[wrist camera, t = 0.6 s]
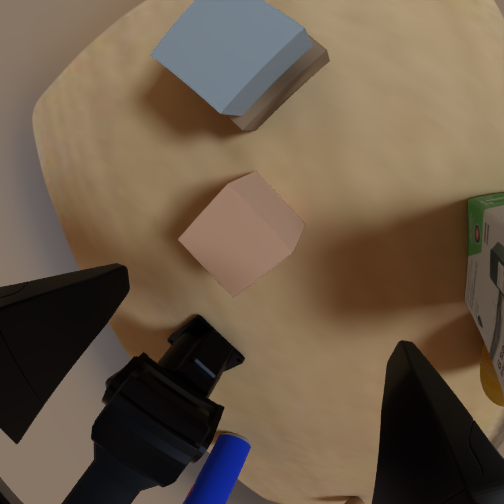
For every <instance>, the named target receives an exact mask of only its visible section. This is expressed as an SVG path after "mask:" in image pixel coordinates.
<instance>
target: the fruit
mask: <svg viewBox="0 0 504 504" xmlns="http://www.w3.org/2000/svg"><path fill="white" fill-rule="evenodd" d="M480 379H481V384H482V387H483V390H484V392H485V394H486V395H487V397H488V398H489V399H490V400H491V401H492V402H494V403H495V404H497V405H499V406H503V407H504V395H503V392H502V388H501V385H500V382H499V379H498V376H497V373H496V371H495V368H494V365H493V363H492V360H491V358H490V355H489V352H488V350H487V347H486V345H485V343H484V344H483V347H482V351H481V363H480Z"/></svg>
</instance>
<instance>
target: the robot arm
mask: <svg viewBox="0 0 504 504" xmlns="http://www.w3.org/2000/svg"><path fill="white" fill-rule="evenodd" d="M129 289H130V284H129V276H128V269H127V267H126V266H124V265H121V264H118V263H115V264H110V265H105V266H100V267H95V268H90V269H85V270H80V271H75V272H71V273H66V274H61V275H57V276H52V277H47V278H42V279H38V280H34V281H30V282H23V283H19V284H14V285H9V286H3V287H0V428H1V429H2V430H3V431H4V432H5V433H6V434H7V435H8V436H9V437H10V438H11V439H12V440H13V441H14V442H15V443H16V444H18V443H19V442H20V440H21V439H22V437H23V436H24V434H25V433H26V431H27V430H28V428H29V426H30V425H31V424H32V422H33V421H34V419H35V418H36V416H37V415H38V413H39V412H40V410H41V409H42V408H43V406H44V404H45V403H46V401H47V400H48V399H49V397H50V396H51V395H52V393H53V392H54V391H55V389H56V388H57V386H58V385H59V384H60V382H61V381H62V380H63V378H64V377H65V376H66V374H67V373H68V372H69V371H70V369H71V368H72V366H73V365H74V364H75V363H76V361H77V360H78V359H79V358H80V356H81V355H82V354H83V352H84V351H85V350H86V349H87V348H88V346H89V345H90V343H91V342H92V341H93V340H94V339H95V338H96V336H97V335H98V334H99V333H100V331H101V330H102V329H103V328H104V327H105V325H106V324H107V323H108V321H109V320H110V319H111V317H112V316H113V314H114V313H115V311H116V310H117V308H118V307H119V305H120V304H121V302H122V301H123V300H124V298H125V297H126V295H127V294H128V292H129ZM198 320H199V321H198ZM168 342H169V343H170V344H171V345H172V346H171V347H170V348H169V349H168V350H167V352H166V353H165V354H164V355H163V357H162V358H161V359H160V360H159V362H158V363H156V362H155V361H153V360H152V359H151V358H149V357H148V355H147V354H146V353H144V352H143V353H142V354H141V355H140V356H139V357H138V356H137V357H135V356H134V357H133V358H132V359H131V361H130V362H129V363H128V364H127V365H126V366H125V367H124V368H123V369H121V370H120V371H118V372H117V373H115V374H114V375H113V376H111V377H110V378H108V379H107V381H106V383H105V384H106V391H105V394H104V396H103V398H102V402H103V403H104V404H105V405H106V406H105V407H104V409H103V410H102V412H101V413H100V414H99V416H98V417H97V419H96V420H95V422H94V425H93V426H92V434H91V439H92V440H93V441H94V460H93V462H92V463H91V465H90V466H89V467H88V469H87V470H86V471H85V473H84V474H83V476H82V477H81V478H80V479H79V481H78V482H77V484H76V485H75V486H74V488H73V489H72V491H71V492H70V493H69V495H68V496H67V497H66V498H65V500H64V501H63V503H62V504H131V503H132V501H133V500H134V499H135V497H136V496H137V495H138V494H139V492H140V491H142V490H145V489H148V488H151V487H154V486H157V485H159V486H161V487H166V486H168V485H170V484H172V483H174V482H175V481H176V480H177V478H178V477H179V475H180V474H181V473H182V471H183V470H184V469H185V467H186V466H187V465H188V463H189V462H191V463H195V462H197V461H198V460H199V459H200V458H201V457H202V456H203V454H204V453H205V452H206V450H207V449H208V447H209V446H210V444H211V442H212V440H213V438H214V435H215V432H216V430H217V427H218V424H219V421H220V419H221V416H222V413H223V410H224V407H223V406H221V405H220V404H219V405H218V404H216V403H215V402H213V401H211V400H210V399H208V398H209V396H210V394H211V393H212V391H213V389H214V387H215V386H216V384H217V382H218V380H219V379H220V377H221V375H222V373H223V372H224V371H227V370H229V369H231V368H233V367H235V366H237V365H239V364H242V363H243V362H244V359H245V358H244V356H243V355H242V354H241V353H240V352H239V351H237V350H236V349H235V348H234V347H233V346H232V345H231V344H230V343H229V342H228V341H227V340H226V339H225V338H224V337H222V336H221V335H220V334H219V333H218V332H217V331H216V330H215V329H214V328H213V327H212V326H211V325H210V324H209V323H208V322H207V321H206V320H205V319H204V318H203V317H202V316H199V315H197V316H195V317H194V318H193V319H192V320H190V321H189V322H188V323H186V324H185V325H184V326H182V327H181V328H180V329H179V330H177V331H176V332H175V333H173V334H172V335H171V336H170V337H169V338H168ZM0 504H23V503H22V502H21V501H20V500H19V498H18V497H17V496H16V495H15V494H14V493H13V492H12V491H11V490H10V488H9V487H8V486H7V485H6V484H5V482H4V481H3V480H2V479H1V478H0ZM372 504H504V458H503V457H502V456H501V455H500V454H499V452H498V451H497V450H496V448H495V447H494V446H493V445H492V443H491V442H490V441H489V440H488V438H487V437H486V435H485V434H484V433H483V431H482V430H481V429H480V427H479V426H478V424H477V423H476V422H475V420H474V421H473V418H472V416H471V415H470V414H469V412H468V411H467V409H466V408H465V407H464V405H463V404H462V403H461V401H460V400H459V399H458V398H457V396H456V395H455V394H454V392H453V391H452V390H451V388H450V387H449V386H448V385H447V383H446V382H445V381H444V380H443V378H442V377H441V376H440V375H439V373H438V372H437V371H436V370H435V368H434V367H433V366H432V365H431V364H430V362H429V361H428V360H427V359H426V357H425V356H424V355H423V354H422V353H421V352H420V350H419V349H418V348H417V347H416V346H415V344H414V343H413V342H409V341H404V340H401V341H399V342H398V344H397V346H396V347H395V349H394V351H393V353H392V355H391V356H390V358H389V360H388V363H387V367H386V377H385V386H384V394H383V401H382V409H381V426H380V442H379V454H378V463H377V472H376V480H375V487H374V493H373V499H372Z"/></svg>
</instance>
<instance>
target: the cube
mask: <svg viewBox="0 0 504 504" xmlns="http://www.w3.org/2000/svg"><path fill="white" fill-rule="evenodd" d="M304 226H305V223H304V222H303V221H302V219H301V218H300V217H299V216H298V215H297V214H296V213H295V212H294V211H293V210H292V208H291V207H290V206H289V205H288V204H287V203H286V202H285V201H284V200H283V199H282V198H281V196H280V195H279V194H278V193H277V192H276V191H275V190H274V189H273V188H272V187H271V186H270V185H269V184H268V183H267V182H266V181H265V179H264V178H263V177H262V176H261V175H260V174H259V173H258V172H257V171H254V172H252V173H250V174H248V175H245V176H243V177H241V178H239V179H237V180H235V181H232V182H230V183H228V184H227V185H226V186H225V187H224V188H223V189H222V190H221V192H220V193H219V194H218V195H217V196H216V197H215V198H214V199H213V200H212V201H211V202H210V204H209V205H208V206H207V207H206V208H205V209H204V210H203V211H202V212H201V214H200V215H199V216H198V217H197V218H196V219H195V220H194V221H193V223H192V224H191V225H190V226H189V227H188V228H187V229H186V231H185V232H184V233H183V234H182V235H181V236H180V238H179V239H178V240H179V241H180V242H181V243H182V244H183V245H184V247H185V248H186V249H187V250H188V251H189V252H190V253H191V254H192V255H193V256H194V257H195V258H196V259H197V260H198V261H199V263H200V264H201V265H202V266H203V267H204V268H205V269H206V270H207V271H208V272H209V273H210V274H211V275H212V276H213V277H214V278H215V279H216V280H217V281H218V282H219V283H220V284H221V285H222V286H223V288H224V289H225V290H226V291H227V292H228V293H229V294H230V295H231V296H232V297H233V298H234V297H235V296H237V295H238V294H239V293H241V292H242V291H243V290H245V289H246V288H247V287H249V286H250V285H251V284H253V283H254V282H255V281H257V280H258V279H259V278H261V277H262V276H263V275H264V274H266V273H267V272H268V271H270V270H271V269H272V268H274V267H275V266H276V265H278V264H279V263H280V262H281V261H283V260H284V259H285V258H287V257H288V256H289V255H291V254H292V253H293V251H294V249H295V247H296V244H297V242H298V240H299V238H300V235H301V233H302V231H303V229H304Z"/></svg>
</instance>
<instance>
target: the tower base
mask: <svg viewBox="0 0 504 504" xmlns="http://www.w3.org/2000/svg"><path fill="white" fill-rule="evenodd" d="M308 36H309V35H308ZM309 38H310V41H311V43H312V45H313V46H312V47H311V48H310V49H309V50H308V51H306V52H305V53H304V54H303V55H302V56H301V57H300V58H299V59H298V60H297V61H296V62H295V63H293V64H292V65H291V66H290V67H289V68H288V69H287V70H286V71H285V72H284V73H283V74H282V75H281V76H280V77H279V78H278V79H277V80H276V81H275V82H274V83H273V84H272V85H271V86H270V87H269V88H268V89H267V90H266V91H265V92H264V93H263V94H262V95H261V96H260V97H259V98H258V99H257V100H256V101H255V103H254V104H253V105H252V106H251V107H250V108H249V109H248V110H247V111H246V112H245V113H244V114H243V115H242V116H237V115H228V114H226V115H227V116H228V117H229V118H230V119H231V120H232V121H233V122H234V123H235V124H236V125H237V126H238V127H239V128H240V129H241V130H242V131H256V130H257V129H258V128H259V127H260V126H261V125H262V124H263V123H264V122H265V121H266V120H267V119H268V118H269V117H270V116H271V115H272V114H273V113H274V112H275V111H276V110H277V109H278V108H279V107H280V106H281V105H282V104H283V103H284V102H285V101H286V100H287V99H288V98H289V97H290V96H291V95H293V94H294V93H295V92H296V91H297V90H298V89H299V88H300V87H301V86H302V85H303V84H304V83H305V82H307V81H308V80H309V79H310V78H311V77H312V76H313V75H314V74H315V73H317V72H318V71H319V70H320V69H321V68H322V67H323V66H325V65H326V64H327V63H328V62H329V61H330V60H329V56H328V52H327V49H325V48H324V47H323V46H322V45H320V44H319V43H318V42H317V41H316V40H314V39H313V38H312V37H310V36H309Z"/></svg>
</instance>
